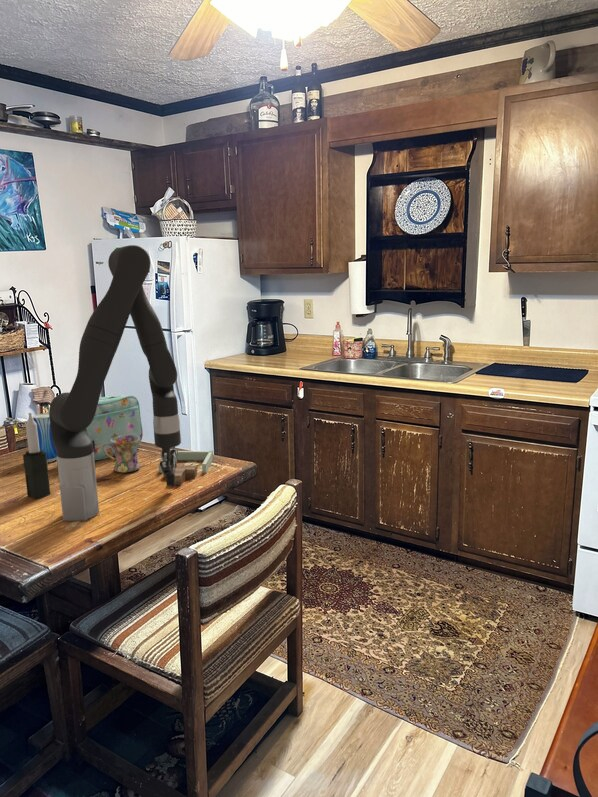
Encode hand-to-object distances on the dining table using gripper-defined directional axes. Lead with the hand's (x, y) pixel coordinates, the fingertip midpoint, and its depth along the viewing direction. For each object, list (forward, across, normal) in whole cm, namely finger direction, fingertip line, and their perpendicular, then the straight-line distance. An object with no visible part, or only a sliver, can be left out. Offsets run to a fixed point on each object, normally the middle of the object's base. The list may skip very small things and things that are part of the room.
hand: (171, 485), depth 175 cm
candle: (+2, -3, +39) cm, 39 cm away
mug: (+2, +19, +20) cm, 28 cm away
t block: (+2, +10, 0) cm, 10 cm away
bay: (+2, +22, 0) cm, 23 cm away
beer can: (+2, +30, +50) cm, 59 cm away
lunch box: (+2, +37, +31) cm, 49 cm away
